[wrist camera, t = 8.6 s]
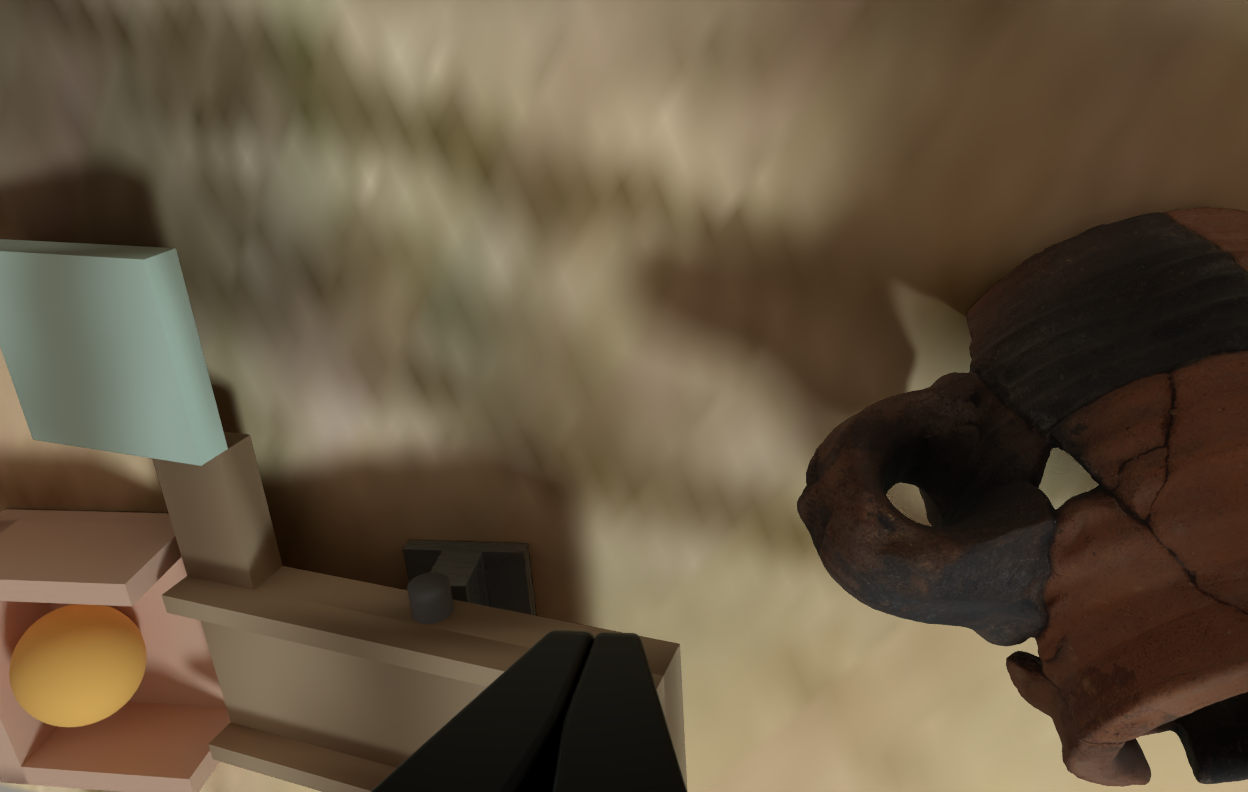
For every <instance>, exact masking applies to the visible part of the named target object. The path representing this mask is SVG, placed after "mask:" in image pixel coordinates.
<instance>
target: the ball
mask: <svg viewBox="0 0 1248 792" xmlns="http://www.w3.org/2000/svg"><path fill="white" fill-rule="evenodd" d="M146 662H147V654H146V646H145V642H144V639H143V637H142V634H141V632H140V631H139V629H138V627H137V626H136V625H135V624H134V622H133V621H132V620H131V619H130V618H129V617H127V616H126V615H125V614H123V613H122V612H120V611H118V610H116V609H114V608H112V607H109V606H106V605H86V604H72V605H68V606H64V607H61V608H58V609H56V610H54V611H52V612H50V613H48V614H46V615H44V616H43V617H41V618H40V619H38V620H37V621H36V622H35V623H34V624H32V625H31V626H30V627H29V628H28V629H27V631H26V632H25V633H24V634H23V636H22V637H21V639H20V640H19V641H18V643H17V645H16V647H15V649H14V652H13V654H12V658H11V662H10V670H9V677H10V684H11V688H12V691H13V694H14V696H15V698H16V700H17V701H18V703H19V704H20V706H21V707H22V708H23V709H24V710H25V711H26V712H27V713H28V714H30V715H31V716H32V717H34V718H36V719H37V720H39V721H42V722H44V723H46V724H50V725H53V726H59V727H80V726H85V725H89V724H93V723H96V722H98V721H100V720H103V719H105V718H107V717H109V716H111V715H112V714H114V713H115V712H117V711H118V710H119V709H120V708H121V707H123V706H124V705H125V704H126V703H127V702H128V701H129V700H130V699H131V697H132V696H133V695H134V693H135V692H136V690H137V689H138V687H139V685H140V683H141V681H142V679H143V676H144V673H145V667H146Z"/></svg>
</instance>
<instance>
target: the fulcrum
mask: <svg viewBox="0 0 1248 792" xmlns="http://www.w3.org/2000/svg"><path fill="white" fill-rule="evenodd" d="M403 553H404V559H405V564H406V570H407V575H408V580H409V582H410V581H411V580H412V579H413V578H415V577H417V576H419V575H421V574H425V573H430V572H438V573H442V574H445V575H446V576H447V577H448V578H449V581H450V587H451V594H452V599H454V600H459V601H464V602H469V603H474V604H479V605H484V606H489V607H494V608H499V609H504V610H510V611H515V612H520V613H525V614H530V615H535V616H537V614H536V606H535V598H534V590H533V582H532V574H531V566H530V558H529V550H528V543H493V542H458V541H423V540H408V542H407V543H406V545H405V546H404V548H403Z"/></svg>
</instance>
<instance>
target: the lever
mask: <svg viewBox="0 0 1248 792" xmlns="http://www.w3.org/2000/svg"><path fill="white" fill-rule="evenodd" d="M0 347H1V350H2V353H3V356H4V358H5V361H6V364H7V367H8V370H9V373H10V375H11V378H12V381H13V384H14V387H15V390H16V393H17V395H18V398H19V401H20V404H21V407H22V410H23V412H24V415H25V418H26V421H27V424H28V427H29V430H30V432H31V435H32V438H33V440H39V441H45V442H51V443H58V444H64V445H71V446H77V447H83V448H90V449H96V450H103V451H109V452H115V453H122V454H128V455H135V456H141V457H147V458H152V459H153V462H154V466H155V469H156V472H157V476H158V479H159V483H160V486H161V489H162V493H163V496H164V499H165V503H166V506H167V509H168V513H169V516H170V519H171V523H172V526H173V530H174V533H175V536H176V540H177V543H178V546H179V550H180V553H181V556H182V560H183V563H184V567H185V570H186V573H187V576H186V577H185V578H184V579H182V580H181V581H180V582H178V583H177V584H176V585H174V586H173V587H172V588H170V589H169V590H168V591H166V592H165V593H164V594H162V598H163V602H164V605H165V608H166V611H167V613H170V614H174V615H179V616H183V617H187V618H192V619H196V620H200V621H201V624H202V627H203V630H204V634H205V637H206V640H207V644H208V647H209V651H210V654H211V657H212V661H213V664H214V667H215V671H216V674H217V677H218V681H219V684H220V688H221V691H222V694H223V698H224V701H225V704H226V708H227V711H228V714H229V718H230V721H231V722H230V723H229V724H228V725H227V726H226V727H225V728H224V729H223V730H222V731H221V732H220V733H219V734H218V735H217V736H216V737H215V738H214V739H213V740H212V741H211V742H210V743H209V744H208V745H209V748H210V751H211V755H212V758H213V759H214V760H217V761H221V762H224V763H227V764H231V765H234V766H237V767H241V768H244V769H248V770H251V771H254V772H258V773H261V774H265V775H268V776H271V777H275V778H278V779H282V780H285V781H288V782H292V783H295V784H298V785H302V786H305V787H309V788H312V789H315V790H319V791H322V792H370V791H372V790H373V789H374V788H375V787H376V786H377V785H378V784H379V783H381V782H382V781H383V780H384V779H385V778H386V777H387V776H388V775H389V774H391V773H392V772H393V771H394V770H395V769H396V768H397V767H398V766H400V765H401V764H402V763H403V762H404V761H405V760H406V759H407V758H408V757H410V756H411V755H412V754H413V753H414V752H415V751H416V750H417V749H419V748H420V747H421V746H422V745H423V744H424V743H425V742H426V741H427V740H429V739H430V738H431V737H432V736H433V735H434V734H435V733H436V732H438V731H439V730H440V729H441V728H442V727H443V726H444V725H445V724H447V723H448V722H449V721H450V720H451V719H452V718H453V717H454V716H455V715H457V714H458V713H459V712H460V711H461V710H462V709H463V708H464V707H466V706H467V705H468V704H469V703H470V702H471V701H472V700H473V699H474V698H476V697H477V696H478V695H479V694H480V693H481V692H482V691H483V690H485V689H486V688H487V687H488V686H489V685H490V684H491V683H492V682H493V681H495V680H496V679H497V678H498V677H499V676H500V675H501V674H502V673H504V672H505V671H506V670H507V669H508V668H509V667H510V666H511V665H512V664H514V663H515V662H516V661H517V660H518V659H519V658H520V657H521V656H523V655H524V654H525V653H526V652H527V651H528V650H529V649H530V648H531V647H533V646H534V645H535V644H536V643H537V642H538V641H539V640H540V639H542V638H543V637H544V636H545V635H546V634H547V633H549V632H551V631H554V630H568V631H588V632H591V633H592V634H593V635H594V636H596V635H597V634H599V633H601V632H614V633H622V632H616V631H611V630H606V629H601V628H596V627H591V626H586V625H581V624H576V623H571V622H566V621H560V620H555V619H550V618H545V617H540V616H535V615H530V614H525V613H520V612H515V611H510V610H504V609H499V608H494V607H489V606H484V605H479V604H474V603H469V602H464V601H459V600H454V599H452V594H451V587H450V581H449V578H448V577H447V576H446V575H445V574H442V573H438V572H430V573H425V574H421V575H419V576H417V577H415V578H413V579H412V580H411V581H410V582H409V584H408V586H407V590H403V589H398V588H392V587H387V586H382V585H377V584H372V583H367V582H362V581H357V580H352V579H347V578H342V577H336V576H331V575H326V574H321V573H316V572H311V571H306V570H301V569H296V568H291V567H286V566H282V562H281V558H280V554H279V550H278V546H277V541H276V537H275V533H274V529H273V525H272V521H271V517H270V513H269V509H268V505H267V501H266V497H265V493H264V489H263V485H262V481H261V477H260V473H259V469H258V465H257V461H256V457H255V453H254V449H253V445H252V441H251V437H250V435H247V434H240V433H232V432H225V431H223V428H222V424H221V420H220V416H219V413H218V409H217V405H216V401H215V397H214V393H213V390H212V386H211V382H210V378H209V374H208V370H207V367H206V363H205V359H204V355H203V351H202V347H201V343H200V340H199V336H198V332H197V328H196V324H195V320H194V317H193V313H192V309H191V305H190V301H189V297H188V294H187V290H186V286H185V282H184V278H183V274H182V271H181V267H180V263H179V259H178V255H177V251H176V248H162V247H143V246H124V245H105V244H86V243H66V242H47V241H28V240H9V239H0ZM640 638H641V640H642V643H643V646H644V649H645V653H646V656H647V659H648V663H649V666H650V669H651V673H652V676H653V679H654V682H655V686H656V689H657V692H658V696H659V699H660V702H661V706H662V709H663V712H664V716H665V719H666V722H667V726H668V729H669V732H670V736H671V739H672V742H673V746H674V749H675V752H676V756H677V759H678V762H679V765H680V769H681V772H682V775H683V779H684V782H685V785H686V789H687V775H686V756H685V736H684V716H683V697H682V677H681V657H680V644H678V643H673V642H667V641H662V640H657V639H652V638H647V637H642V636H640Z"/></svg>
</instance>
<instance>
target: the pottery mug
mask: <svg viewBox="0 0 1248 792" xmlns="http://www.w3.org/2000/svg"><path fill="white" fill-rule="evenodd" d="M967 322H968V326H969V330H970V334H971V337H972V341H971V344H970V347H969V349H970V356H971V358H972V361H971V365H970V372H969V373H955V372H954V373H949V374H947V375H944V376H942V377H940V378H939V379H938V380H937V381H936V382H935V383H934V384H932V385H931V386H930V387H929V388H926V389H923V390H917V391H911V392H907V393H903V394H899V395H896V396H893V397H890V398H886V399H883V400H881V401H879V402H877V403H875V404H872V405H870V406H868V407H866V408H865V409H864V410H862V411H861V412H859V413H858V414H856V415H854V416H852V417H850V418H848V419H847V420H845V421H844V422H842V423H841V424H840V425H838V426H837V427H836V428H835V429H834V430H833V431H832V432H831V433H830V434H829V435H828V436H827V438H826V439H825V440H824V442H823V443H822V444H821V445H820V446H819V447H818V448H817V449H816V451H815V454H814V456H813V457H812V459H811V460H810V463H809V465H808V469H807V472H806V484H807V486H806V487H805V489H804V490H803V493H802V495H801V496H800V497H799V499H798V501H797V510H798V513H799V515H800V518H801V519H802V521H803V522H804V524H805V525H806V528H807V529H808V531H809V533H810V535H811V537H812V540H813V543H814V546H815V548H816V549H817V552H818V554H819V556H820V558H821V561H822V563H823V565H824V567H825V568H826V570H827V571H828V573H829V574H830V576H831V577H832V578H833V579H834V580H835V581H836V582H837V583H838V584H839V585H840V586H841V587H842V588H843V589H844V590H845V591H847V592H848V593H849V594H850V595H852V596H853V597H855V598H856V599H857V600H859V601H860V602H862V603H864V604H866V605H868V606H869V607H871V608H873V609H875V610H879V611H882V612H884V613H887V614H890V615H894V616H897V617H900V618H904V619H909V620H913V621H917V622H923V623H928V624H943V625H952V626H962V627H967V628H970V629H973V630H974V631H975V632H976V633H977V634H979V635H980V636H981V637H983V638H984V639H985V640H986V641H988V642H990V643H992V644H995V645H1000V646H1012V645H1016V644H1021V643H1023V642H1025V641H1026V640H1027V639H1029V638H1030V637H1034V638H1035V639H1036V641H1037V645H1038V654H1039V657H1040V658H1039V657H1037V656H1034V655H1032V654H1030V653H1027V652H1022V651H1017V652H1014V653H1013V654H1011V655H1010V656H1009V657H1008V658H1007V659H1006V666H1007V670H1008V672H1009V674H1010V677H1011V680H1012V682H1013V684H1014V685H1015V686H1016V688H1017V689H1018V692H1019V693H1020V695H1021V696H1022V697H1023V698H1024V699H1025V700H1026V701H1027V702H1028V703H1029V704H1031V705H1032V706H1033V707H1035V708H1037V709H1039V710H1040V711H1042V712H1043V713H1045V714H1047V715H1049V716H1050V717H1051V718H1052V719H1053V722H1054V725H1055V727H1056V730H1057V732H1058V734H1059V737H1060V740H1061V742H1062V754H1063V755H1062V757H1063V762H1064V764H1065V765H1066V767H1067V769H1068V771H1069V772H1071V773H1073V774H1074V775H1075V776H1076V777H1078V778H1080V779H1084V780H1086V781H1089V782H1093V783H1097V784H1101V785H1106V786H1129V785H1132V784H1133V785H1145V784H1147V783H1148V782H1149V781H1150V778H1151V770H1150V767H1149V765H1148V762H1147V760H1146V758H1145V756H1144V753H1143V751H1142V749H1141V747H1140V745H1139V744H1138V742H1137V740H1136V739H1135V738H1137V737H1139V736H1144V735H1149V734H1154V733H1160V732H1164V731H1169V730H1171V731H1174V732H1175V733H1176V734H1177V735H1178V736H1179V738H1180V740H1181V742H1182V744H1183V746H1184V749H1185V751H1186V755H1187V758H1188V761H1189V764H1190V766H1191V768H1192V770H1193V774H1194V776H1195V778H1196V779H1197V781H1198V782H1200V783H1203V784H1215V783H1222V782H1232V781H1241V780H1246V779H1248V213H1247V212H1244V211H1240V210H1235V209H1222V208H1219V209H1217V208H1207V207H1206V208H1194V209H1185V210H1173V211H1169V212H1166V213H1158V212H1157V213H1149V214H1144V215H1140V216H1136V217H1132V218H1128V219H1125V220H1122V221H1119V222H1115V223H1111V224H1107V225H1099V226H1096V227H1093V228H1091V229H1089V230H1087V231H1085V232H1083V233H1081V234H1079V235H1078V236H1075V237H1073V238H1071V239H1068V240H1066V241H1063V242H1061V243H1057V244H1054V245H1052V246H1050V247H1048V248H1046V249H1045V250H1043V251H1042V252H1040V253H1038V254H1036V255H1034V256H1032V257H1030V258H1028V259H1027V260H1025V261H1024V262H1022V263H1021V264H1020V265H1018V266H1017V267H1016V268H1015V269H1014V270H1013V271H1012V272H1011V273H1010V274H1009V275H1008V276H1006V277H1004V278H1003V279H1001V280H1000V281H999V282H997V283H996V284H995V285H994V286H992V287H991V288H990V289H989V290H988V291H987V292H986V293H985V294H984V295H983V296H982V297H981V298H979V299H978V300H977V302H976V303H975V304H974V305H973V306H972V307H971V308H970V309H969V310H968V314H967ZM1058 447H1059V448H1060V449H1061V450H1064V451H1065V452H1067V453H1068V454H1070V455H1071V456H1072V457H1073V458H1074V459H1075V460H1076V461H1077V462H1078V463H1079V464H1080V465H1082V467H1083V468H1084V469H1085V470H1086V471H1087V472H1088V473H1089V474H1090V475H1091V477H1092V479H1093V480H1094V481H1096V482H1097V483H1098V484H1099V486H1097V487H1096V488H1094V489H1092V490H1091V491H1088V492H1085V493H1081V494H1079V495H1077V496H1074V497H1072V498H1070V499H1069V500H1067V501H1066V502H1065V503H1064V504H1063V505H1062V506H1061V507H1059V508H1058V509H1054V507H1053V506H1052V504H1051V502H1050V500H1049V499H1048V497H1047V496H1046V495H1045V494H1044V493H1043V491H1041V490H1040V489H1038V487H1039V485H1040V483H1041V480H1042V477H1043V474H1044V469H1045V466H1046V462H1047V460H1048V458H1049V456H1050V451H1051V449H1052V448H1058ZM900 482H902V483H907V484H913V485H915V486H917V487H918V488H919V490H920V493H921V496H922V498H923V500H924V503H925V508H926V512H927V519H928V520H929V522H930V524H931V525H932V526H933V527H931V526H927V525H922V524H919V523H916V522H914V521H912V520H911V519H909V518H907V517H906V516H904V515H903V514H902V513H901V512H900V511H898V510H897V509H896V508H895V507H894V506H893V505H892V503H891V502H890V501H889V499H888V498H887V496H886V494H887V492H888V490H889V489H890V488H891V487H892V486H893V485H895V484H896V483H900Z"/></svg>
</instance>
